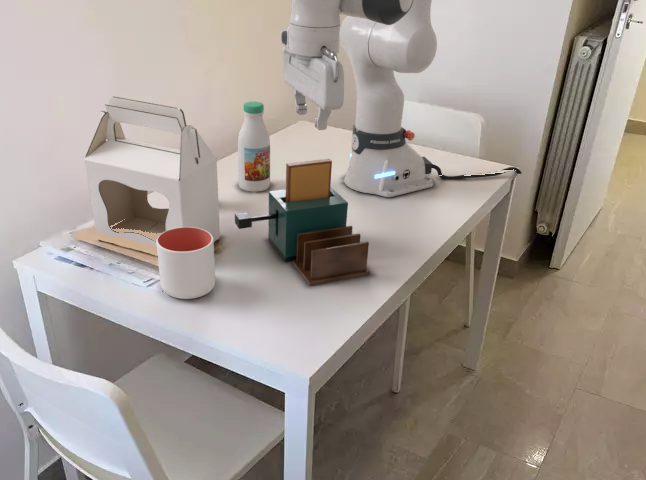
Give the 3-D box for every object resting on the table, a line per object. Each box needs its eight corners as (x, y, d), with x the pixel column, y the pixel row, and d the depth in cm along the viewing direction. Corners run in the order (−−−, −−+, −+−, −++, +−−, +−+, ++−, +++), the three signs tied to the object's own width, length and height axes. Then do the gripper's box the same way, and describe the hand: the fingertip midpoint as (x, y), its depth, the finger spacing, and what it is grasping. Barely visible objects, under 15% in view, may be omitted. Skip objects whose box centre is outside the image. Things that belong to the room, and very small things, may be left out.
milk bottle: (233, 189, 161) (231, 105, 150) (245, 178, 167) (244, 97, 156) (263, 194, 159) (263, 110, 148) (274, 183, 165) (275, 101, 154)
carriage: (239, 229, 128) (239, 219, 127) (234, 223, 130) (234, 213, 129) (332, 215, 135) (333, 206, 133) (326, 210, 137) (327, 201, 136)
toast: (326, 206, 135) (329, 158, 130) (329, 208, 134) (332, 161, 128) (285, 211, 132) (286, 163, 127) (287, 214, 131) (288, 165, 126)
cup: (163, 274, 126) (159, 226, 121) (216, 274, 127) (214, 226, 121) (158, 302, 118) (152, 252, 113) (214, 301, 119) (212, 252, 113)
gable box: (95, 240, 137) (73, 102, 121) (134, 216, 147) (118, 85, 131) (187, 265, 130) (176, 121, 114) (221, 238, 140) (215, 102, 124)
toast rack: (350, 254, 136) (352, 223, 132) (370, 274, 129) (373, 243, 125) (292, 263, 132) (293, 232, 128) (309, 285, 125) (310, 253, 121)
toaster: (285, 262, 132) (286, 211, 126) (267, 238, 140) (267, 189, 134) (344, 252, 136) (348, 202, 130) (323, 230, 144) (326, 182, 138)
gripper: (356, 53, 108) (349, 137, 116) (308, 29, 124) (305, 104, 132) (321, 55, 106) (316, 140, 114) (276, 30, 122) (275, 107, 130)
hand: (310, 121), depth 123 cm, fingers open, 8 cm apart
